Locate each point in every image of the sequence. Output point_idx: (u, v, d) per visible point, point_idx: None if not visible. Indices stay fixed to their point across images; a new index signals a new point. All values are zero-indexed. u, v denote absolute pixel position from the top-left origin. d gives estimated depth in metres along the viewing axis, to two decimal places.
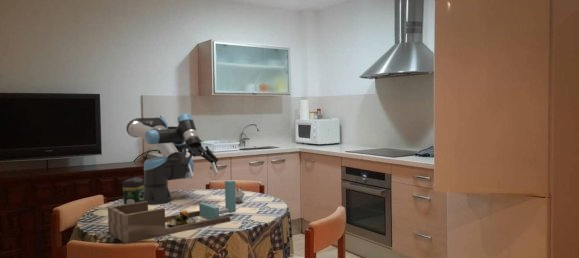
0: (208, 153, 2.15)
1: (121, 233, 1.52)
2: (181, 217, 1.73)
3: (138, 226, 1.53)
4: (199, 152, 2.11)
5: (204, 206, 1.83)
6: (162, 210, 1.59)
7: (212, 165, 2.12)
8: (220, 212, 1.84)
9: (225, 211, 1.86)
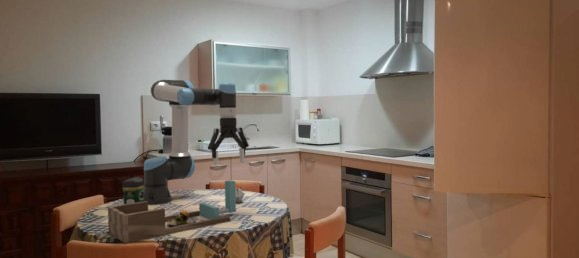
0: (240, 135, 1.92)
1: (121, 233, 1.52)
2: (181, 217, 1.73)
3: (138, 226, 1.53)
4: (231, 135, 1.88)
5: (204, 206, 1.83)
6: (162, 210, 1.59)
7: (240, 151, 1.92)
8: (220, 212, 1.84)
9: (225, 211, 1.86)
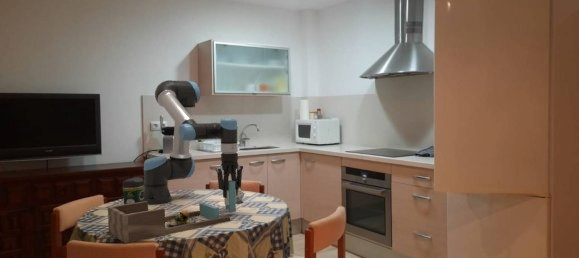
0: (238, 173, 1.91)
1: (121, 233, 1.52)
2: (181, 217, 1.73)
3: (138, 226, 1.53)
4: (233, 170, 1.88)
5: (204, 206, 1.83)
6: (162, 210, 1.59)
7: None
8: (220, 212, 1.84)
9: (225, 211, 1.86)
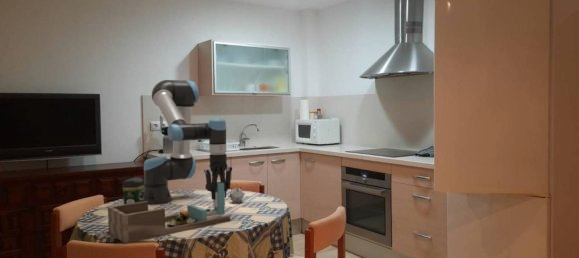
0: (227, 175, 1.88)
1: (121, 233, 1.52)
2: (181, 217, 1.73)
3: (138, 226, 1.53)
4: (221, 172, 1.84)
5: (192, 208, 1.79)
6: (162, 210, 1.59)
7: None
8: (208, 214, 1.81)
9: (213, 213, 1.82)
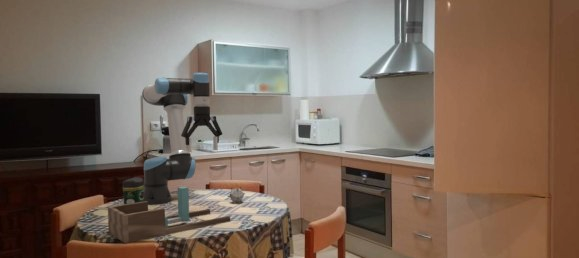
0: (214, 124, 1.99)
1: (121, 233, 1.52)
2: None
3: (138, 226, 1.53)
4: (205, 123, 1.94)
5: None
6: (162, 210, 1.59)
7: (214, 139, 1.99)
8: (171, 221, 1.70)
9: (177, 220, 1.71)
